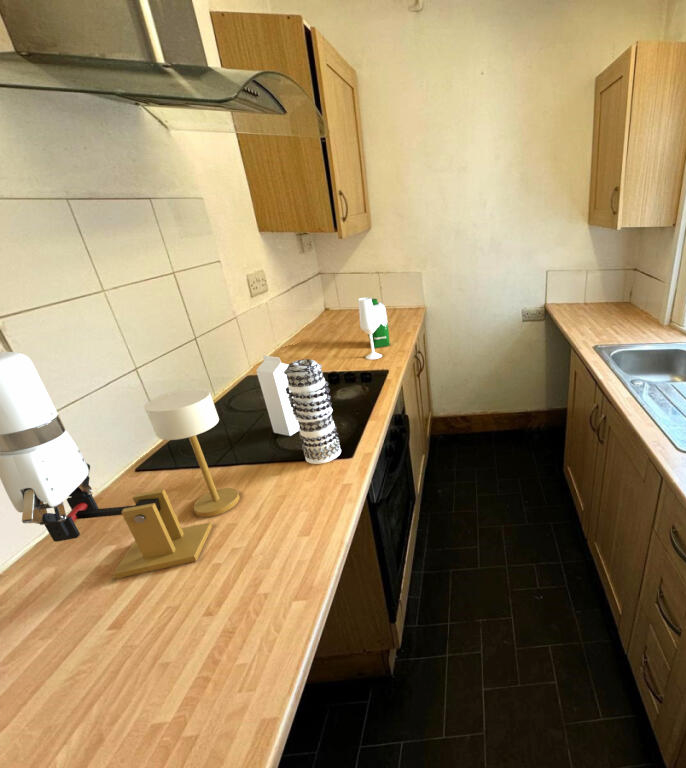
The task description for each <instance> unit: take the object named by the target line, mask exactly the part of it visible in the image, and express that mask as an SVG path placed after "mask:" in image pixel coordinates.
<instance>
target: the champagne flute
mask: <svg viewBox="0 0 686 768" xmlns="http://www.w3.org/2000/svg"><path fill="white" fill-rule="evenodd" d="M371 299H372V297H361V298H358V300H357V301H358V314H359V326H360V327H359V328H360V329H361V331H362V332H364V333H365V334H367V335H368V334H369V337H368V339H369V338H370V340H369V343H370V350H371V351H370V353H369V354H368V355H366V356H365V359H367V360H377V359H381V358H382V357H383V354H381V353H378V352H376V351H375V348H374V344H373V338H372V334H373V333H374V332H375V330H376V329H377V327H378V324H377V320H376V316H375V312H374V308H373V304H372V300H371Z"/></svg>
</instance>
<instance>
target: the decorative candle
mask: <svg viewBox="0 0 686 768" xmlns="http://www.w3.org/2000/svg"><path fill="white" fill-rule="evenodd" d="M322 368H323V365H322V364H321V363H318V362H317V361H316V360H314V359H311V358H306V359H305V358H304V359H303V358H302V359H297V360H295V361H292V362H290V363H289V365H288V367H287V369H285V371H284V374H286V375H287V380H288V387H287V388H286V393H287V394H289V396H288V399H289V401H290V404H291V405H290V406H291V407H292V408H293V410H292V411H293V414H294V415H295V419H296V420H297V421H298V423H299V435H298V436H299V439H300V443H301V445H302V448H301V449H302V451H303V456H304V458H305V461H306V462H307V463H309V464H311V465H321V464H326V463H329V462H331V461H333V460H336V459H337V458H338V457H339V456H340V455H341V453H342V449H341V445H340V439H339V437H338V435H339V433H338V430H337V429H338V428H337V426H336V425H335V421H334V419H333V415H332V413H333V411H334V410H333V408H332V405H333V403H332V401H331V399H332V397H331V395H330V394H329V393H330V391H331V390H330V388H329V386H330V383H329V382H328V381H326V379H325V377H324V373H323V370H322ZM289 390H290V391H289ZM292 397H293V398H292ZM293 404H294V405H295V406H294V405H293Z"/></svg>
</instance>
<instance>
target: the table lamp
mask: <svg viewBox="0 0 686 768" xmlns="http://www.w3.org/2000/svg"><path fill="white" fill-rule="evenodd" d="M144 410H145V413H146V414H147V417H148V419H149V422H150V424H151V427H152V429H153V431H154V433H155V436H156V438H157V439H159V440H161V441H162V440H163V441H177V440H184V439H187V438H188V439H189V442H190V445H191V446H192V450H193V453H194V455H195V459H196V461H197V463H198V466H199V468H200V472H201V473H202V476H203V479H204V482H205V484H206V486H207V489H208V493H205V494H204V495H201V497H199V498H198V499H197V500H196V501H195V502H194V504H193V511H194V513H195V515H196V516H198V517H201V518H210V517H211V518H212V517H215V516H216V517H217V516H218V515H221V514H225V513H226V512H228V511H229V510H231V509H233V508H234V507H235V506H236V505H237V504H238V502H239V501H240V494H239V491H238V489H235V488H234V487H222V488H218V489H217V488H216V485H215V482H214V480H213V476H212V474H211V471H210V469H209V466H208V463H207V460H206V458H205V456H204V452H203V449H202V448H201V445H200V442H199V439H198V437H197V436H198V435H200V434H203V433H205V432H207V431H209V430H211V429H212V428H214V427H215V426H217V424H218V423H219V421H220V418H219V415H218V412H217V408H216V405H215V403H214V399H213V398H212V395H211V391H210V390H209V389H208V388H207V389H206V388H201V387H199V388H198V387H193V388H185V389H178V390H175V391H171V392H167V393H164V394H161V395H159V396H156V397H154V398H153V399H150V400H148V401H147V402H146V403H145V405H144Z"/></svg>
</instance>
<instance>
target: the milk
mask: <svg viewBox="0 0 686 768" xmlns="http://www.w3.org/2000/svg"><path fill="white" fill-rule="evenodd" d="M262 359H263V361H262V362H261V364H260V365H259V366H258V367H257V369H256V370H255V371H256V375H257V379H258V383H259V385H260V388H261V392H262V395H263V399H264V402H265V407H266V410H267V413H268V417H269V421H270V424H271V428H272V432H273V433H274V434H279V435H283V436H288V437H292V436H293V435H294V434H296V433H297V432H300V430H299V423H298V421H297V420H296V419H295V415H294V414H293V411H292V410H293V408H292V407H291V406H290V405H291V404H290V401H289V399H288V396H289V394H287V393H286V388H287V387H288V380H287V375H286V374H284V371H285V369H287V367H288V365H289V364H290V363H289V364H288V363H284V362H282V361H281V358H280V357H278V356H272V355H262ZM289 391H290V390H289ZM292 398H293V397H292ZM293 405H294V404H293ZM294 406H295V405H294Z"/></svg>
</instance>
